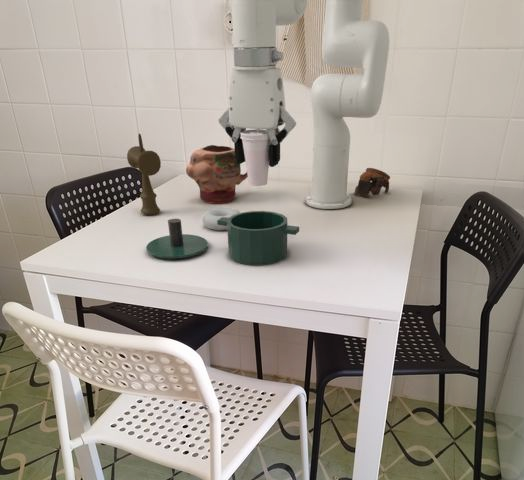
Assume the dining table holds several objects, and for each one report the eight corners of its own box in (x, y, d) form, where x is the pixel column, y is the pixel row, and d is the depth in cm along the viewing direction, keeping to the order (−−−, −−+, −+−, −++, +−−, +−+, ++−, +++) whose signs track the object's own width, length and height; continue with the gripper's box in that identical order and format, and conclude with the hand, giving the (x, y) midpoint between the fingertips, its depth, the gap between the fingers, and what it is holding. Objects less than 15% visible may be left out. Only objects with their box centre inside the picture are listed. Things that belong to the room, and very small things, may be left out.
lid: (168, 235, 120) (165, 208, 117) (218, 243, 116) (216, 214, 112) (134, 256, 110) (129, 226, 106) (188, 265, 105) (184, 234, 102)
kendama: (146, 219, 131) (134, 137, 120) (133, 210, 138) (121, 132, 127) (168, 215, 133) (158, 134, 123) (154, 206, 140) (143, 129, 129)
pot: (234, 239, 118) (232, 207, 114) (306, 249, 111) (307, 215, 107) (208, 258, 108) (205, 224, 104) (286, 271, 102) (286, 235, 98)
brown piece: (347, 193, 149) (359, 166, 148) (374, 206, 152) (385, 179, 150) (363, 193, 138) (376, 163, 136) (391, 206, 141) (404, 178, 139)
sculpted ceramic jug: (244, 188, 154) (242, 140, 147) (263, 198, 145) (262, 147, 138) (182, 198, 146) (177, 148, 139) (199, 209, 137) (194, 156, 130)
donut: (197, 231, 123) (237, 232, 121) (196, 217, 121) (236, 218, 119) (209, 218, 131) (247, 219, 129) (208, 205, 129) (246, 206, 127)
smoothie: (250, 189, 98) (248, 110, 90) (236, 182, 103) (233, 106, 95) (279, 184, 100) (279, 107, 93) (264, 178, 105) (263, 104, 98)
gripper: (307, 58, 90) (305, 163, 99) (221, 58, 96) (227, 157, 105) (292, 60, 84) (291, 171, 94) (202, 60, 90) (209, 165, 100)
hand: (257, 163), depth 99 cm, fingers closed on smoothie, 6 cm apart
